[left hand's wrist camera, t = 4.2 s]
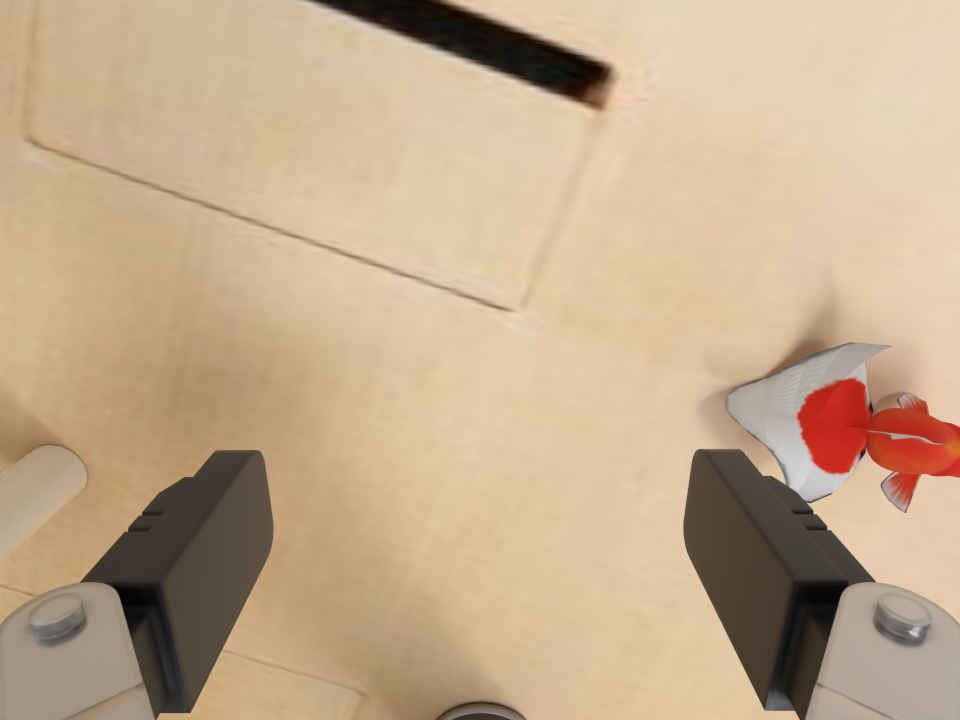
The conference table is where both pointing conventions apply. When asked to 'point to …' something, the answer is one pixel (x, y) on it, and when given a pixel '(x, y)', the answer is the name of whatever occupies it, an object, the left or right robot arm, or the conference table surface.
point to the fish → (843, 426)
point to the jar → (36, 493)
